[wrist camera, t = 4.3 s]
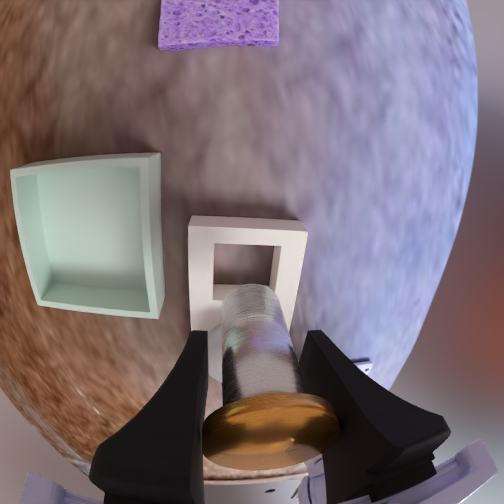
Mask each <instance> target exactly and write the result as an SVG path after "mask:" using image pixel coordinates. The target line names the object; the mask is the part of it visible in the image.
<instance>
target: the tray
mask: <svg viewBox="0 0 504 504" xmlns="http://www.w3.org/2000/svg"><path fill="white" fill-rule="evenodd" d="M161 155H162V152H149V153H121V154H104V155H91V156H80V157H70V158H61V159H53V160H45V161H38V162H33V163H30V164H27V165H24V166H21V167H18V168H15V169H12V170H10V175H11V186H12V195H13V203H14V210H15V217H16V223H17V228H18V234H19V239H20V243H21V248H22V252H23V256H24V260H25V264H26V268H27V272H28V275H29V279H30V282H31V285H32V289H33V292H34V295H35V298H36V301H37V304H38V305H41V306H47V307H54V308H60V309H67V310H74V311H82V312H90V313H98V314H107V315H117V316H127V317H138V318H151V319H159V315H160V312H161V308H162V305H163V302H164V298H165V295H166V289H165V277H164V263H163V245H162V219H161Z"/></svg>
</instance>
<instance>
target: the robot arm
mask: <svg viewBox="0 0 504 504" xmlns="http://www.w3.org/2000/svg"><path fill="white" fill-rule="evenodd" d="M299 365H300V372H301V375H302V378H303V382H304V385H305V389H306V392H307V394H310V395H315V396H318V397H321V398H323V399H325V400H327V401H328V402H329V403H331V405H332V406H333V408H334V411H335V414H336V417H337V420H338V423H339V426H340V428H341V434H340V437H339V439H338V440H337V441H336V443H335V444H334V445H333V446H332V447H330V448H329V449H328V450H326V451H325V452H323V453H322V454H320V455H318V456H316V457H314V458H312V459H309V460H307V461H304V463H305V465H306V466H307V469H308V473H309V475H307V476H305V477H304V478H303V479H302V482H301V484H300V486H299V490H298V498H299V504H460V503H461V502H463V501H464V500H465V499H466V498H468V497H469V496H470V495H471V494H473V493H474V492H475V491H476V490H478V489H479V488H480V487H481V486H483V485H484V484H485V483H486V482H487V481H489V480H490V479H491V478H492V477H493V476H495V475H496V474H497V473H498V469H497V467H496V465H495V463H494V461H493V459H492V457H491V456H490V454H489V452H488V450H487V448H486V446H485V444H484V443H483V441H482V439H481V438H479V439H477V440H476V441H474V442H472V443H471V444H469V445H468V446H466V447H465V448H463V449H462V450H461V451H460V452H458V453H457V454H456V455H455V456H454V457H453V458H451V459H449V460H447V461H445V462H444V463H442V464H440V465H438V466H436V467H434V465H433V463H432V460H434V458H435V457H434V454H433V451H434V450H435V449H437V448H438V447H439V446H440V445H441V444H442V443H443V442H444V441H445V440H446V439H447V438H448V436H450V433H451V430H450V429H449V427H448V425H447V423H446V421H445V420H444V418H443V416H440V415H438V414H435V413H431V412H429V411H426V410H424V409H421V408H419V407H417V406H415V405H412V404H410V403H408V402H407V401H405V400H403V399H401V398H399V397H397V396H395V395H394V394H392V393H391V392H389V391H388V390H386V389H385V388H383V387H382V386H381V385H379V384H378V383H376V382H375V381H374V380H372V379H371V378H370V377H369V376H367V375H368V373H369V372H370V370H371V368H372V366H373V364H372V362H371V361H366V362H358V363H353V362H352V361H351V360H350V359H349V358H348V357H347V356H345V355H344V354H343V352H342V351H341V350H340V349H339V348H338V347H337V346H336V345H335V344H334V343H333V342H332V341H331V340H330V339H329V338H328V337H327V336H326V335H325V334H324V333H323V332H322V331H321V330H311V331H308V332H307V336H306V340H305V343H304V347H303V350H302V354H301V358H300V361H299ZM207 390H208V331H201V330H193V331H191V332H190V335H189V338H188V341H187V343H186V345H185V347H184V349H183V351H182V353H181V355H180V357H179V359H178V360H177V362H176V364H175V366H174V367H173V369H172V371H171V372H170V374H169V375H168V377H167V378H166V380H165V381H164V383H163V384H162V385H161V387H160V388H159V389H158V391H157V392H156V393H155V395H154V396H153V397H152V398H151V399H150V401H149V402H148V403H147V404H146V405H145V406H144V407H143V408H142V409H141V410H140V411H139V413H138V414H137V415H136V416H134V417H133V418H132V419H131V420H130V421H129V422H128V423H127V424H126V425H125V426H123V427H122V428H121V429H120V430H119V431H118V432H116V433H115V434H114V435H112V436H111V437H109V438H108V439H107V440H105V441H104V442H103V443H101V444H100V445H99V446H98V448H97V450H96V452H95V455H94V457H93V460H92V464H91V469H90V474H89V479H90V481H91V482H92V483H93V484H94V485H96V486H97V487H98V488H100V489H101V490H103V491H104V492H105V496H104V501H100V500H97V499H93V498H90V497H87V496H84V495H81V494H78V493H75V492H72V491H69V490H67V489H64V487H62V486H61V485H60V484H58V483H56V482H54V481H52V480H50V479H48V478H46V477H43V476H41V475H39V474H36V473H35V472H32V471H28V473H27V476H26V480H25V484H24V488H23V492H22V497H21V502H20V504H204V503H205V502H204V480H203V452H202V425H203V422H204V416H205V407H206V398H207Z"/></svg>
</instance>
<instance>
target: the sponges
mask: <svg viewBox="0 0 504 504" xmlns="http://www.w3.org/2000/svg"><path fill="white" fill-rule="evenodd" d="M278 17H279V15H278V0H162V2H161V14H160V21H159V34H158V47H159V49H160V50H161V51H163V50H170V51H179V50H186V49H189V48H191V49H196V48H208V47H219V46H228V45H237V46H250V45H252V46H268V47H276V46H277V43H278V41H279V36H278V35H279V18H278Z"/></svg>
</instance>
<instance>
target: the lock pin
mask: <svg viewBox="0 0 504 504" xmlns="http://www.w3.org/2000/svg"><path fill="white" fill-rule="evenodd" d="M221 339H222V395H223V407H221V408H219V409H217V410H215V411H214V412H213V413H211V414H210V415H209V416H208V417H207V418H206V419H205V421H204V422H203V425H202V452H203V454H204V456H205V457H206V458H207V459H208V460H210V461H211V462H213V463H215V464H218V465H220V466H224V467H227V468H232V469H239V470H270V469H277V468H283V467H288V466H292V465H295V464H299V463H302V462H304V461H307V460H309V459H312V458H314V457H316V456H318V455H320V454H322V453H323V452H325V451H326V450H328V449H329V448H330V447H332V446H333V445H334V444H335V443H336V441H337V440H338V439H339V437H340V434H341V428H340V426H339V423H338V420H337V417H336V414H335V411H334V408H333V406H332V405H331V403H329V402H328V401H327V400H325V399H323V398H321V397H318V396H315V395H310V394H307V392H306V389H305V385H304V382H303V378H302V375H301V372H300V368H299V365H298V361H297V358H296V355H295V351H294V348H293V345H292V341H291V338H290V334H289V331H288V328H287V324H286V321H285V318H284V315H283V311H282V308H281V305H280V301H279V298H278V296H277V295H276V293H275V292H274V291H273V290H272V289H270V288H269V287H267V286H264V285H261V284H254V283H252V284H244V285H240V286H238V287H236V288H234V289H233V290H231V291H230V292H229V293H228V294H227V295H226V296H225V298H224V300H223V302H222V307H221Z"/></svg>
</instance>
